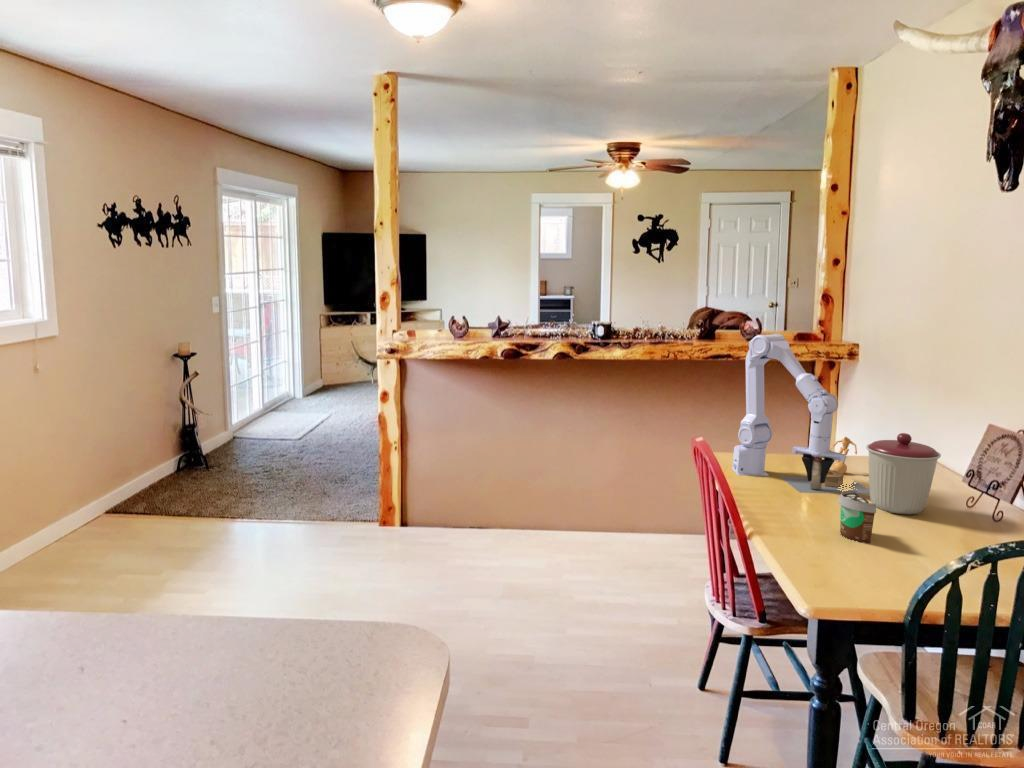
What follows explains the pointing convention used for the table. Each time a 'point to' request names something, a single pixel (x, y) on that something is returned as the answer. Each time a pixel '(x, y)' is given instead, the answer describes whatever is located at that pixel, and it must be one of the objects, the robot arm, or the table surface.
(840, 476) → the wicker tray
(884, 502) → the canister
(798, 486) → the felt mat
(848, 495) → the food container
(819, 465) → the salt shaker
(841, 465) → the figurine
